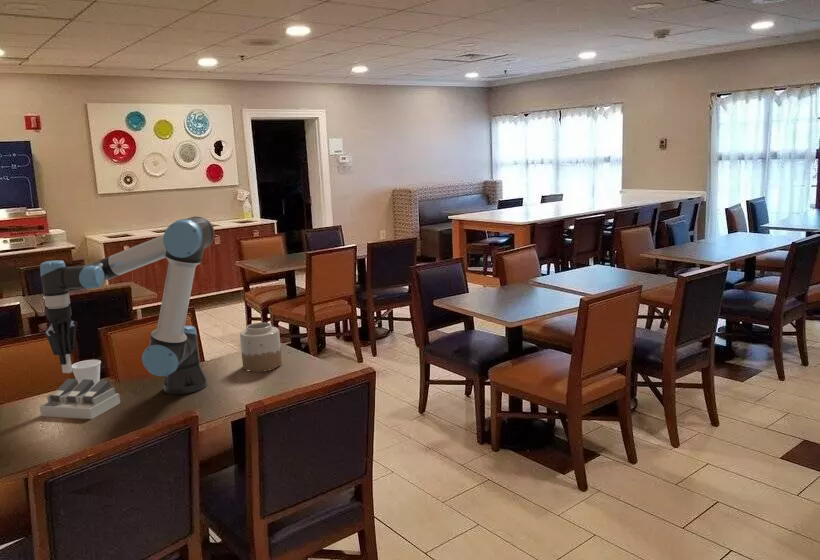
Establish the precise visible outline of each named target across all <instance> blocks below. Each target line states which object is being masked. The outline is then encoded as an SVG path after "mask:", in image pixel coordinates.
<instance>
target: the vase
mask: <svg viewBox="0 0 820 560" xmlns="http://www.w3.org/2000/svg"><path fill="white" fill-rule="evenodd" d="M239 341H240V352H241V360H242V368H243V370H244V369H246V370H250V371H264V370H269V369H273V368H276V367H278V366H280V365H281V364H283V359H282V358H283V357H282V348H281V337H280V330H279V328H278V327H276V326H272V323H269V322H255V323H250V324H248V325H246V328H245V329H242V330H241V331H240V333H239ZM281 366H282V365H281ZM281 366H280V367H281ZM278 368H279V367H278ZM276 369H277V368H276ZM246 370H245V371H246ZM273 370H274V369H273ZM250 371H249V372H250ZM269 371H270V370H269ZM264 372H265V371H264Z"/></svg>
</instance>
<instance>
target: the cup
mask: <svg viewBox="0 0 820 560" xmlns="http://www.w3.org/2000/svg"><path fill="white" fill-rule="evenodd" d="M101 364H102V361H101V360H100V359H86V360H81V361H78V362H75V363H73V364H71V365H72V373H73V375H74V377H75V378H74V379H77V381H78V383H79V384H80V383H81V381H82V380H83V379H87V380H93V382H94V385H93V386H92V387H91V388H90V390H91V389H92V388H93V387H94V386H95V385H96V384H97V383H98V382H99V381H101V380H100V378H101ZM79 384H78V385H79ZM78 385H77V386H78ZM90 390H89V391H90Z"/></svg>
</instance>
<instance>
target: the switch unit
mask: <svg viewBox="0 0 820 560" xmlns="http://www.w3.org/2000/svg"><path fill="white" fill-rule="evenodd" d="M73 390H74V389H73ZM73 390H72V391H73ZM72 391H70V392H68V393H66V394H64V395H62V396H60V397H59V398H60V401H55V400H53V399H52V398H51V395H52V394H53V393H50V394H48V395H47V396H46V399H47V402H45V403H44V404H42V405H40V406H39V411H40V416H41V417H50V418H51V417H52V418H67V419H68V418H69V419H83V420H84V419H85V420H93V419H94V418H97V417H98V416H100V415H102V414H104V413H105V412H107V411H109V410H111V409H112V408H114V407H116V406H117V405H119V404H121V398H120V393H116V389H115V387H111V388H110V389H109V388H108V389H107V390H106V391H105V392H104V393H102V394H100V395H98V396H96V397H94V398H92V400H93V402H85V400H84V398H83V396H84V395H85V394H86V393H87V392H86V393H84V394H82V395H80V396H78V397H76V402H74V401H69V400H68V398H67V396H68V395H69V394H70V393H71V392H72ZM88 392H89V391H88Z"/></svg>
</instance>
